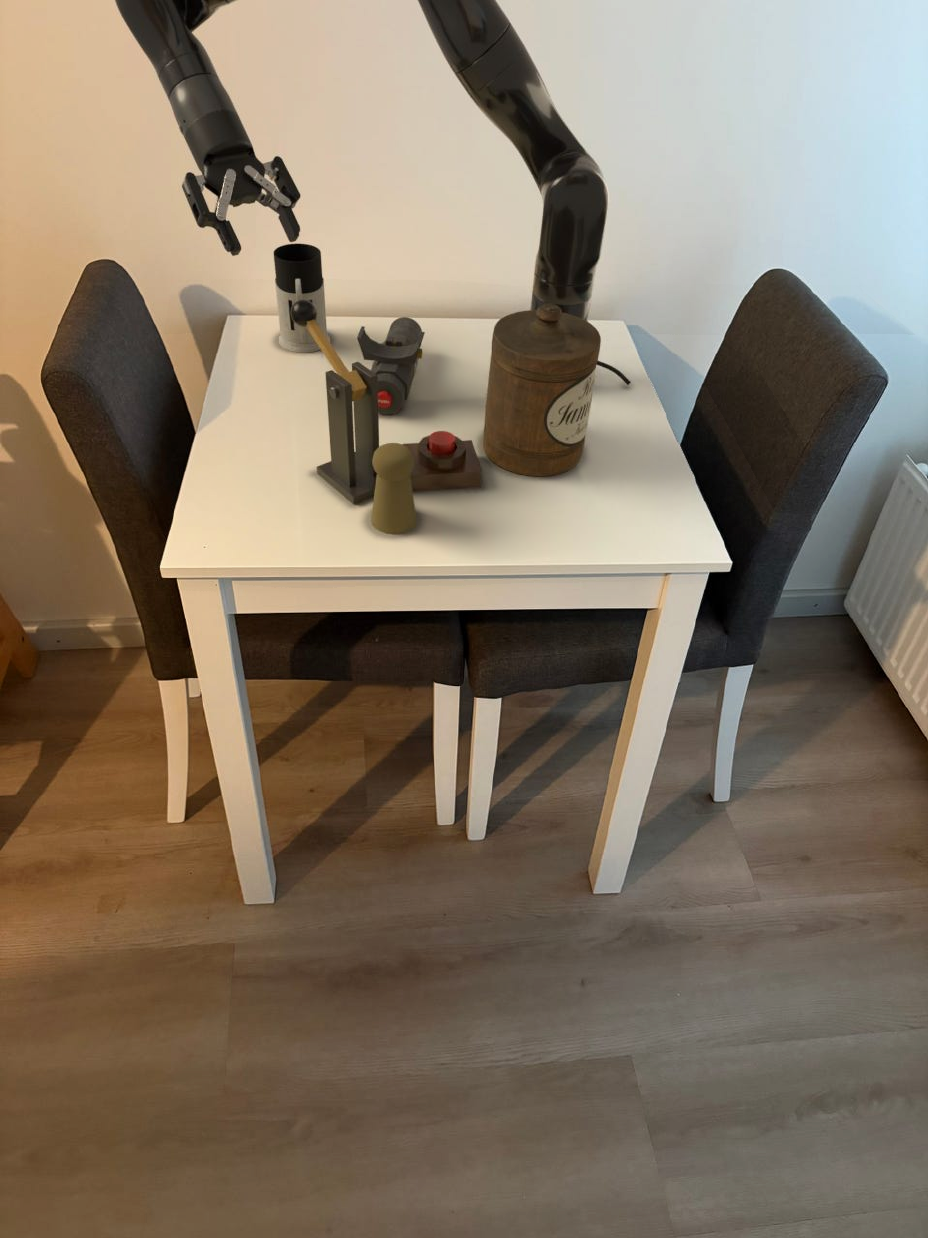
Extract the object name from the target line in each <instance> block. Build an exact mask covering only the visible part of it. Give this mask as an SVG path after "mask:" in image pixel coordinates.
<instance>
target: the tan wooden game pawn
mask: <svg viewBox="0 0 928 1238" xmlns="http://www.w3.org/2000/svg"><path fill="white" fill-rule="evenodd" d="M403 444H404V443H398V442H388V443H384V444H381V445H379V447H378V448H377V449H376V451H375V452H374V455H373V459H372V462H373V467H374V470H375V472H376V473H377V478H376V486H375V493H374V496H373V500H372V501H373V503H372V508H371V509H372V510H371V518H370V523H371V526H373V527H374V529H375V530H377V531H378V532H380V533H383V534H387V535H401V534H402V535H403V534H404V533H408V532H409V531H411V530H413V529H414V528H415V526H416V525H417V521H418V519H417V512H416V505H415V498H414V493H413V491H412V485H411V478H410V473H411V472H412V470H413V466H414V457H413V454H412V452H411V450H410V449H409V448H408V447H407V446H405V445H403Z"/></svg>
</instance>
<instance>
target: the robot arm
mask: <svg viewBox="0 0 928 1238" xmlns="http://www.w3.org/2000/svg"><path fill="white" fill-rule="evenodd" d="M237 1H238V0H114V2H115V4H116V7H117V9H118V12H119V14H120V16H121V18H122V19H123V21H124V23H125V25H126V26H127V28H128V29H129V31H130V33H131V34H132V36H133V38H134V40H135V41H136V42H137V44H138V46H139V47H140V48H141V50H142V51H143V53H144V54H145V55H146V57H147V59H148V60H149V62H150V63H151V65H152V67H153V68H154V71H155V73H156V77H157V78H158V80H159V83H160V85H161V87H162V89H163V92H164V93H165V96H166V97H167V99H168V101H169V104H170V107H171V110H172V113H173V116H174V118H175V121H176V124H177V125H178V129H179V132H180V133H181V135H182V137H183V138H184V141H185V143H186V145H187V147H188V149H189V151H190V153H191V155H192V158H193V160H194V162H195V164H196V166H197V168H198V170H199V171H200V172H201V174H198V175H195V173H194V172H191V171H190V172H189V171H188V172H186V173H185V176H184V178H183V182H182V184H181V188H182V191H183V192H184V195H185V198H186V200H187V203H188V206H189V208H190V210H191V213H192V215H193V217H194V221H195V222H196V224H197V226H198V227H199V228H200V229H205V228H207V227H209V228H213V229H214V230H215V231H216V233H217V235H218V237H219V239H220V241H221V244H222V246H223V248H224V250H225V251H226V252H227V253H230V254H231V256H232V257H235V256H238V255H240V253H241V251H242V245H241V243H240V240H239V238H238V236H237V234H236V232H235V230H234V228H233V226H232V223H231V221H230V220H226V219H227V215H228V210H229V206H232V207H233V208H237V207H240V206H241V205H243V204H244V205H251V204H255V203H256V202H257V203H259V204H260V205H262V206H263V207H265V208H266V207H267V208H269V209H271V210H272V211H273V212H274V213H276V214H278V217H277V218H278V220H279V223H280V225H281V226H282V229H283V231H284V233H285V235H286V237H287V240H288V242H289V243H294V242H297V240H298V238H299V237H300V232H301V226H300V224H299V222H298V219H297V217H296V215H295V213H294V211H293V209H295V207H296V205H297V203H298V202H299V200H300V199H301V196H302V195H301V192H300V191H299V189H298V187H297V185H296V183H295V181H294V178H293V176H291V174H290V171H289V169H288V168H287V166H286V164H285V162H284V160H283V158H282V157H281V156H279V155H276V156H274V157H273V159H272V160H271V161H267V162H264V163H263V162H262V161H260V159H259V158H258V157H257V156H256V153H255V150H254V147H253V144H252V141H251V139H250V137H249V135H248V133H247V131H246V128H245V127H244V124H243V122H242V120H241V118H240V116H239V114H238V111H237V109H236V106H235V105H234V102H233V101H232V98H231V96H230V94H229V92H228V91H227V89H226V88H225V86H224V85H223V83H222V81H221V79H220V77H219V75H218V73H217V70H216V68H215V66H214V65H213V62H212V60H211V58H210V56H209V54H208V51H207V50H206V48H205V46H204V45H203V43H202V42H201V41H200V40H199V38H197V37H196V36H195V34H194V33H193V32H194V31H195V30H197V29H198V28H200V26H202V25H203V24H204V23H205V22H206V21H208V20H209V19H210V18H211V17H212V16H213V15H214V14H216V12H218V10H219V9H221V8H223V7H225V6H228V5H230V4H233V3H235V2H237ZM417 2H418V4H419V7H420V8H421V11H422V13H423V15H424V18H425V20H426V22H427V24H428V27H429V29H430V31H431V33H432V35H433V38H434V40H435V42H436V43H437V46H438V47H439V49H440V52H441V53H442V56H443V57H444V60H445V61H446V63H447V64H448V66H449V68H450V70H451V71H452V72H453V73H454V75H455V77H456V79H457V80H458V81H459V83H460V84H461V87H463V89H464V90H465V92H466V94H467V95H468V96H469V98H470V99H471V100H472V102H473V103H474V104H475V105H476V107H477V108H478V109H479V110H480V111H481V113H482V114H483V115H484V116H485V117H486V118H487V119H488V120H489V122H491V124H492V125H494V126H495V127H496V128H497V129H498V130H499V132H501V133H502V134H503V135H504V136H505V137H506V138H507V140H509V141H510V143H511V144H512V145H513V146H514V148H515V149H516V150H517V152H518V153H519V156H520V157H521V158H522V160H523V162H524V163H525V165H526V167H527V169H528V171H529V172H530V173H529V174H531V176H532V178H533V180H534V182H535V185H536V186H537V188H538V191H539V193H540V196H541V200H542V216H541V225H540V235H539V243H538V249H537V253H536V254H535V260H534V261H535V262H534V270H533V271H534V272H533V280H532V292H531V300H530V309H529V310H537V309H538V308H539V307H540V306H541V305H544V304H547V303H553V304H555V305H557V306H558V307H559V308H560V309H561V311H562V313H566V314H570V315H573V316H576V317H579V318H581V319H583V320H585V321H587V322H589V317H590V311H591V305H592V296H593V291H594V283H595V277H596V271H597V266H598V265H599V262H600V259H601V254H602V250H603V245H604V244H603V243H604V238H605V232H606V225H607V221H608V213H609V205H610V193H609V188H608V184H607V182H606V179H605V177H604V174H603V171H602V168H600V166H599V165H598V163H597V162H596V161H595V159H594V158H593V157H592V156H591V155H590V153H589V152H588V151H587V150H586V149H585V147H584V146H583V145H582V144H581V142H580V140H578V138H577V137H576V135H575V134H574V133H573V132H572V130H571V129H570V128H569V126H568V125H567V124H566V122H565V121H564V119H563V118H562V116H561V115H560V113H559V112H558V110H557V108H556V106H555V104H554V101H553V100H552V98H551V95H550V93H549V91H548V89H547V87H546V84H545V82H544V80H543V78H542V76H541V74H540V72H539V70H538V68H537V66H536V64H535V62H534V61H533V58H532V57H531V54H530V53H529V51H528V49H527V48H526V46H525V44H524V42H523V41H522V39H521V38H520V35H519V34H518V32H517V31H516V29H515V27H514V26H513V24H512V23H511V21H510V19H509V18H508V16H507V15H506V14H505V12H504V10H503V9H502V8H501V6H500V4H499V3H498V2H497V0H417ZM265 175H266V176H268V177H269V180H268V179H267V178H266V177H265ZM271 181H272V182H274V183H272V182H271ZM204 189H207V191H209V192H210V193H212V194H213V195H215V196H216V201H215V206H214V210H213V211H210V208H209V206H208V203H207V201H206V199H205V197H204V194H203V192H204ZM263 190H264V192H265V193H264V192H262V191H263ZM597 366H599V367H600V368H601V367H602V368H604V369H606V370H608V371H610V372H612V373H614V374H615V375H617V376H618V377H619V378H620V379H621V380H622V381H623V382H624V383H625V384H626V386H629V385H630V384H631V383H632V381H631V380H630V379H629V378H628V377H627V376H626V375H625V374H624V373H622V371H620V370H619V369H617V368H616V367H614V366H612V365H610V364H608V363H606V362H603V361H601V360H598V361H597Z"/></svg>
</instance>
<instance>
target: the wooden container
mask: <svg viewBox="0 0 928 1238" xmlns="http://www.w3.org/2000/svg"><path fill="white" fill-rule="evenodd" d="M493 327H494V328H493V332H492V337H491V353H490V362H489V363H490V364H489V370H488V371H489V372H488V381H487V389H486V397H485V410H484V411H485V412H484V424H483V425H484V426H483V436H482V448H483V451H484V454H485V455H486V457H487V458H488V459H489V460H490V461H491V462H492V463H494V464H495V465H496V466H499V467H500V468H501V469H504V470H506V471H508V472H511V473H515V474H519V475H523V476H532V477H546V476H554V475H558V474H562V473H565V472H567V471H569V470H571V469H573V468H574V467H576V466H577V465H578V464H579V462H580V461H581V459H582V458H583V457H582V456H583V451H584V446H585V441H586V436H587V435H586V434H587V430H588V423H589V419H590V413H591V408H592V401H593V400H592V399H593V392H594V386H595V379H596V372H597V366H598V365H597V361H599V357H600V352H601V351H600V350H601V343H602V337H601V334H600V332H599V330H598V329H597V328H596V327H595V325H593V324H591V323H590V322H589V321H588V322H587V321H585V320H583V319H581V318H579V317H576V316H573V315H570V314H566V313H562V311H561V309H560V308H559V307H558V306H557V305H555V304H553V303H547V304H544V305H541V306H540V307H539V308H538V309H537V310H530V309H529V310H521V311H515V312H513V313H510V314H507V315H505V316H503V317H502V318H500V319H499V320H498V321H497V322H496V323H495V324H494V326H493Z"/></svg>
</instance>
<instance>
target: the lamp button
mask: <svg viewBox="0 0 928 1238" xmlns="http://www.w3.org/2000/svg"><path fill="white" fill-rule="evenodd" d="M429 435H430V436H429ZM429 435H428V436H429V450H430V452H432V453H434V454H438V455H449V454H451V453H453V452H454V451H455V436H456V435H454V433H452V432H450V431H446V430H437V431H433V432H432V433H431V434H429Z"/></svg>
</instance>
